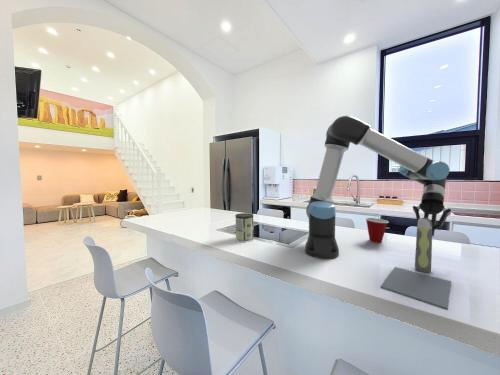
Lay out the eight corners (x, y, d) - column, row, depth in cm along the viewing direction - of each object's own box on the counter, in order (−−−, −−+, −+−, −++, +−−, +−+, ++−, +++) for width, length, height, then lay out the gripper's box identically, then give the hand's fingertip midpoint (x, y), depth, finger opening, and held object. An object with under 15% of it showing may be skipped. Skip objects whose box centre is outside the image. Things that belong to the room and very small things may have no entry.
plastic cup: (391, 244, 109) (392, 221, 108) (368, 243, 111) (369, 221, 110) (383, 238, 119) (383, 217, 118) (362, 237, 121) (362, 216, 121)
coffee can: (242, 235, 128) (242, 212, 127) (257, 238, 123) (256, 214, 122) (232, 240, 120) (231, 215, 119) (247, 243, 114) (247, 217, 113)
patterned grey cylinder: (414, 266, 84) (416, 216, 83) (430, 269, 81) (433, 217, 80) (414, 270, 80) (416, 218, 79) (431, 274, 77) (433, 220, 76)
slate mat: (394, 267, 83) (394, 266, 83) (451, 282, 71) (451, 281, 71) (380, 287, 69) (380, 286, 69) (447, 309, 57) (447, 308, 57)
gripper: (452, 203, 93) (448, 250, 82) (415, 200, 102) (407, 243, 92) (452, 192, 89) (448, 240, 78) (414, 190, 98) (405, 233, 88)
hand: (426, 241), depth 85 cm, fingers closed
